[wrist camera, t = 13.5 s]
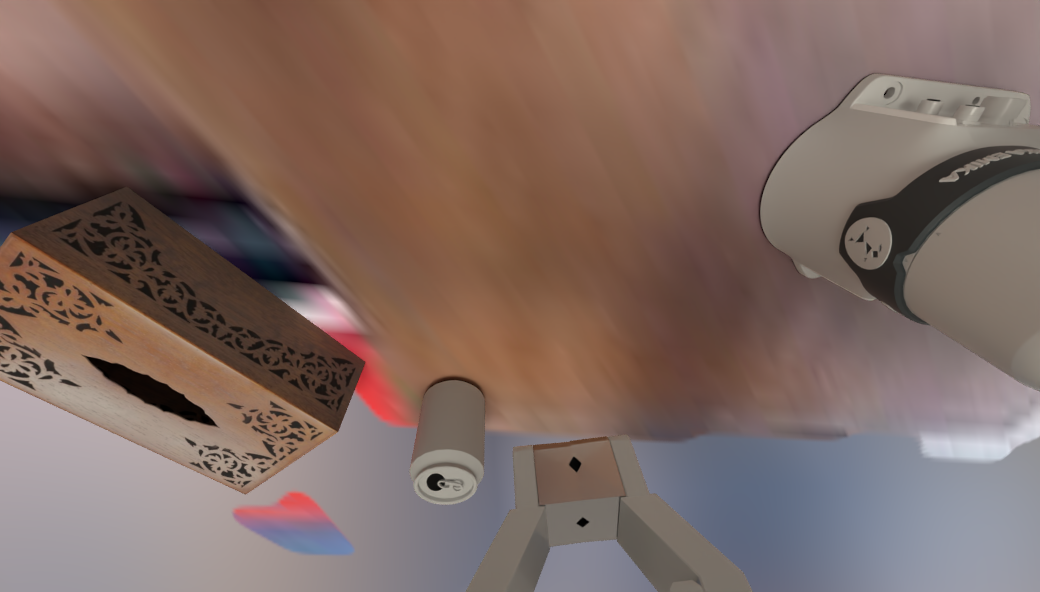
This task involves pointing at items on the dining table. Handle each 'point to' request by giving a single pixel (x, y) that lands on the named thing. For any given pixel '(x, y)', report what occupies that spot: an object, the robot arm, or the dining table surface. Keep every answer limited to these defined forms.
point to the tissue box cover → (166, 342)
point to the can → (449, 443)
